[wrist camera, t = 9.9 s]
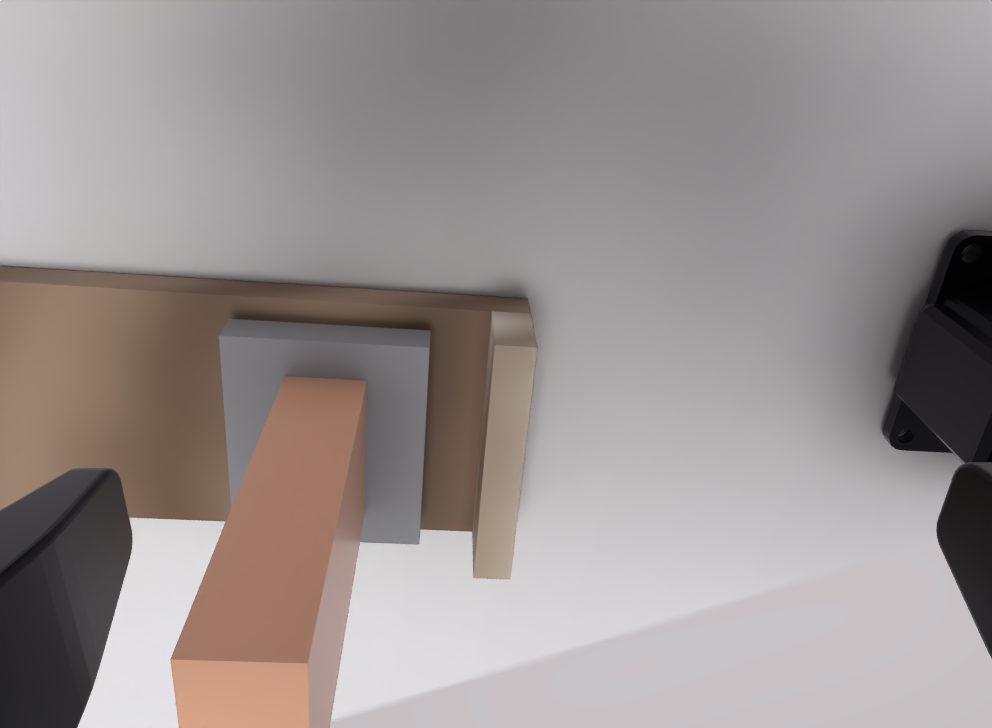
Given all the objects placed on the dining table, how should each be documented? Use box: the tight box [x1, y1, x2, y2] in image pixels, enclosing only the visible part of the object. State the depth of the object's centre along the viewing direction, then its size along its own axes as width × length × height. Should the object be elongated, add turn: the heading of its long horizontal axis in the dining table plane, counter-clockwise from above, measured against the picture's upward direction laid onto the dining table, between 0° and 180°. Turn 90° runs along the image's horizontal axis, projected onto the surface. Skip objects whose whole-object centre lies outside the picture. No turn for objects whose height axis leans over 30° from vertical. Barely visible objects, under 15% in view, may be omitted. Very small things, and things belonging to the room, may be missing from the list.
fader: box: [171, 319, 431, 728], centre depth 18 cm, size 5×6×10 cm
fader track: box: [0, 266, 537, 579], centre depth 22 cm, size 17×7×3 cm, turn 85°
